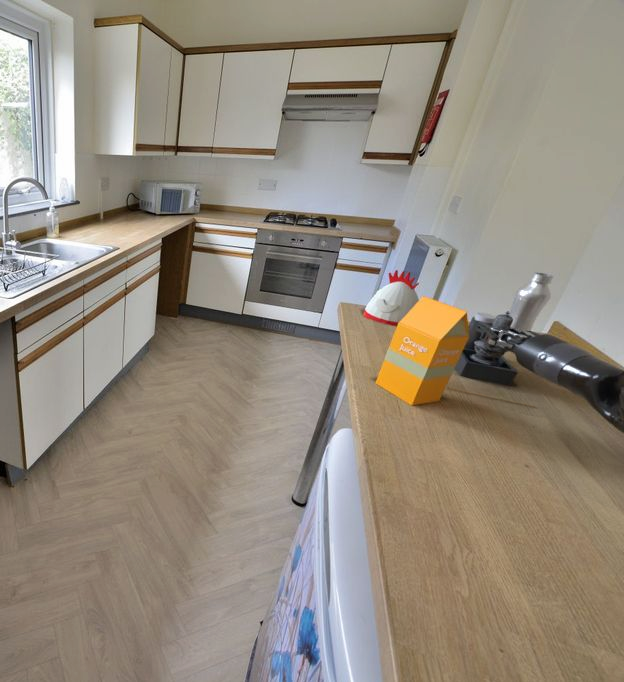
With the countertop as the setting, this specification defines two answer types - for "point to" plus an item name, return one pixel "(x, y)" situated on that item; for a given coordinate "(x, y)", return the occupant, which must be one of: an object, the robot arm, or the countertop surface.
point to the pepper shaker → (472, 326)
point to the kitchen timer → (393, 300)
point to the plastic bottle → (530, 301)
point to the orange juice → (424, 351)
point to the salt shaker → (490, 354)
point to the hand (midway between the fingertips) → (488, 326)
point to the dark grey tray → (485, 369)
